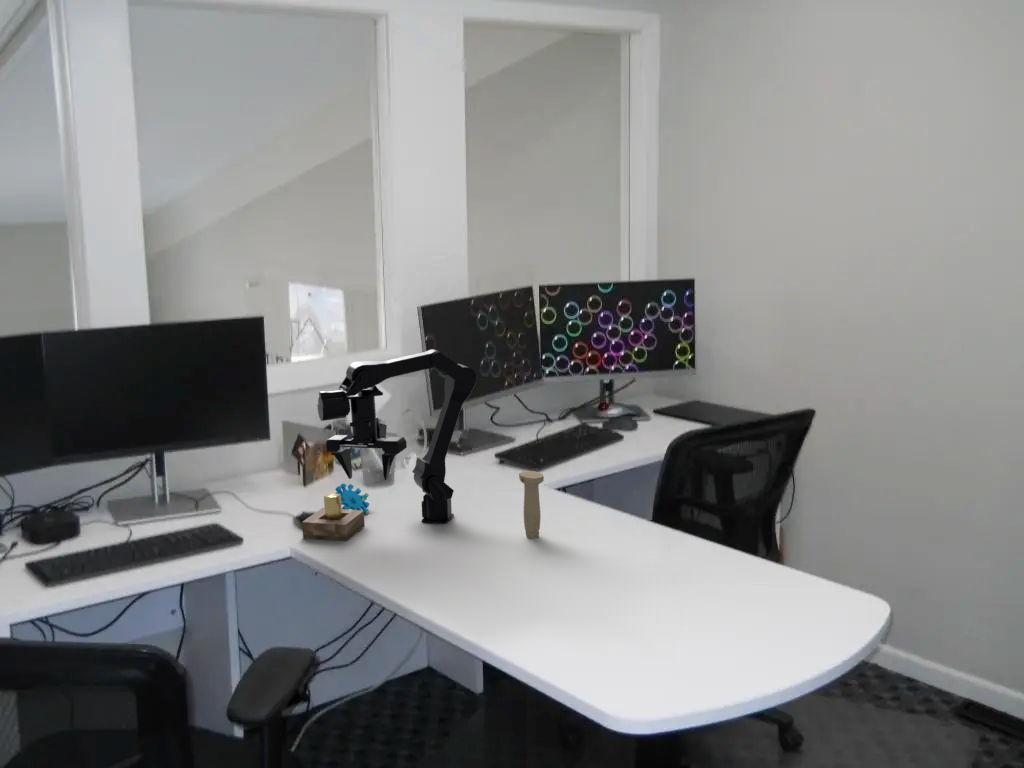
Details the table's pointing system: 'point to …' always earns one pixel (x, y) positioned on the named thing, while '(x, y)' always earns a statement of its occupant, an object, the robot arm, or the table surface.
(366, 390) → the robot arm
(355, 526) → the socket block
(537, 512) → the handle
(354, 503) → the gear
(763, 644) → the table surface
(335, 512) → the pin
